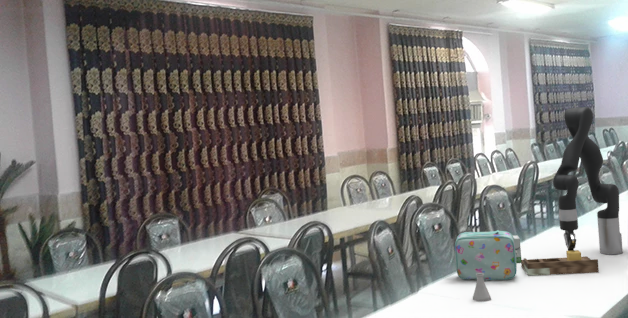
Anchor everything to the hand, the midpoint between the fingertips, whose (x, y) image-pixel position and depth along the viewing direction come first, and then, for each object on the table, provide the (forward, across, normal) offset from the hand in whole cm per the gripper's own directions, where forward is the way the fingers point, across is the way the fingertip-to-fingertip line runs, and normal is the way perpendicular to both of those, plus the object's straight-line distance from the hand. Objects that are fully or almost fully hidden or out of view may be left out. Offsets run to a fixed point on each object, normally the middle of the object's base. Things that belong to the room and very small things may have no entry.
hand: (571, 256), depth 268 cm
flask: (+4, -42, +44) cm, 61 cm away
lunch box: (+5, -12, +38) cm, 40 cm away
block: (+2, -5, 0) cm, 5 cm away
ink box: (+5, +16, +22) cm, 28 cm away
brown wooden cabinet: (+5, -3, +6) cm, 8 cm away
